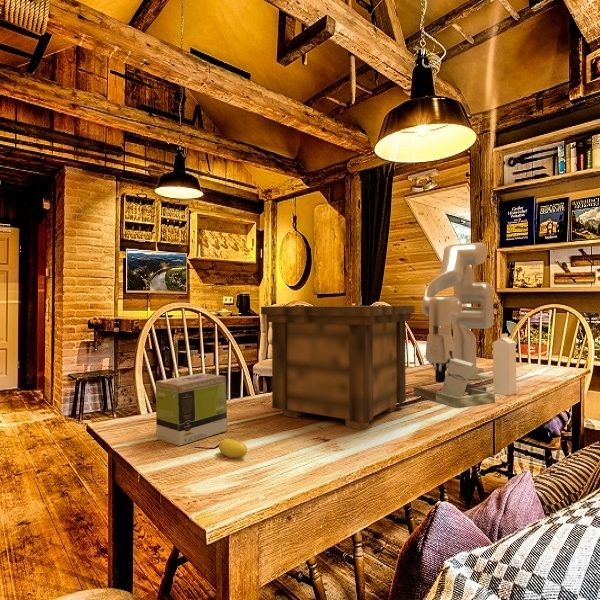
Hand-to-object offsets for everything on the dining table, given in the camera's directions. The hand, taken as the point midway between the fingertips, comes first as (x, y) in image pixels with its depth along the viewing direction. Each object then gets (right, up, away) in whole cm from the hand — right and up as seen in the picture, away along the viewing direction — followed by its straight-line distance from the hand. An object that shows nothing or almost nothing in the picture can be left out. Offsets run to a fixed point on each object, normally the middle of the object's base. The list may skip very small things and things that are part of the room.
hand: (440, 381), depth 151 cm
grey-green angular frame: (+5, -5, -4) cm, 8 cm away
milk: (+25, -5, +4) cm, 26 cm away
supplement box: (+3, -4, -3) cm, 6 cm away
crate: (-38, -5, -22) cm, 44 cm away
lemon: (-66, -5, -59) cm, 88 cm away
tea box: (-78, -5, -44) cm, 90 cm away
